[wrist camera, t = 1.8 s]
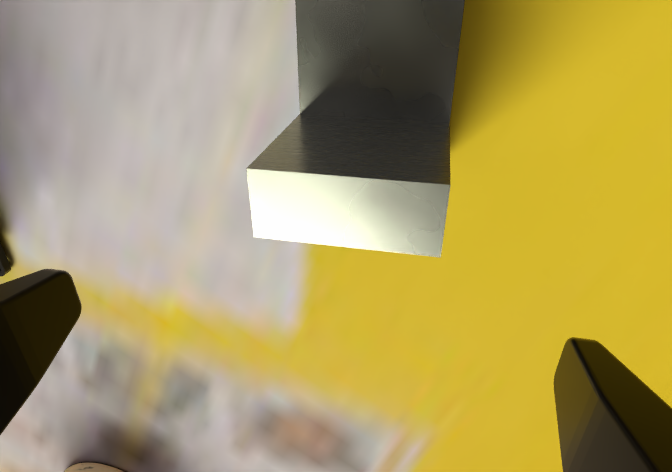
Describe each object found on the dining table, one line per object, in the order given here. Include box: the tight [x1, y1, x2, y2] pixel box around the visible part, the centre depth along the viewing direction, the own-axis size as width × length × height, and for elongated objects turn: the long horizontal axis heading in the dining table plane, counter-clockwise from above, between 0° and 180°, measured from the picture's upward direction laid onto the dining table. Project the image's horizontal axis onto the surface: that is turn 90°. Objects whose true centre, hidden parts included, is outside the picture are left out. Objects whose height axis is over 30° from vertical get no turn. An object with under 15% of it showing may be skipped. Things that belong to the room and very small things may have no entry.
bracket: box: [246, 0, 465, 257], centre depth 13 cm, size 8×5×7 cm, turn 0°
